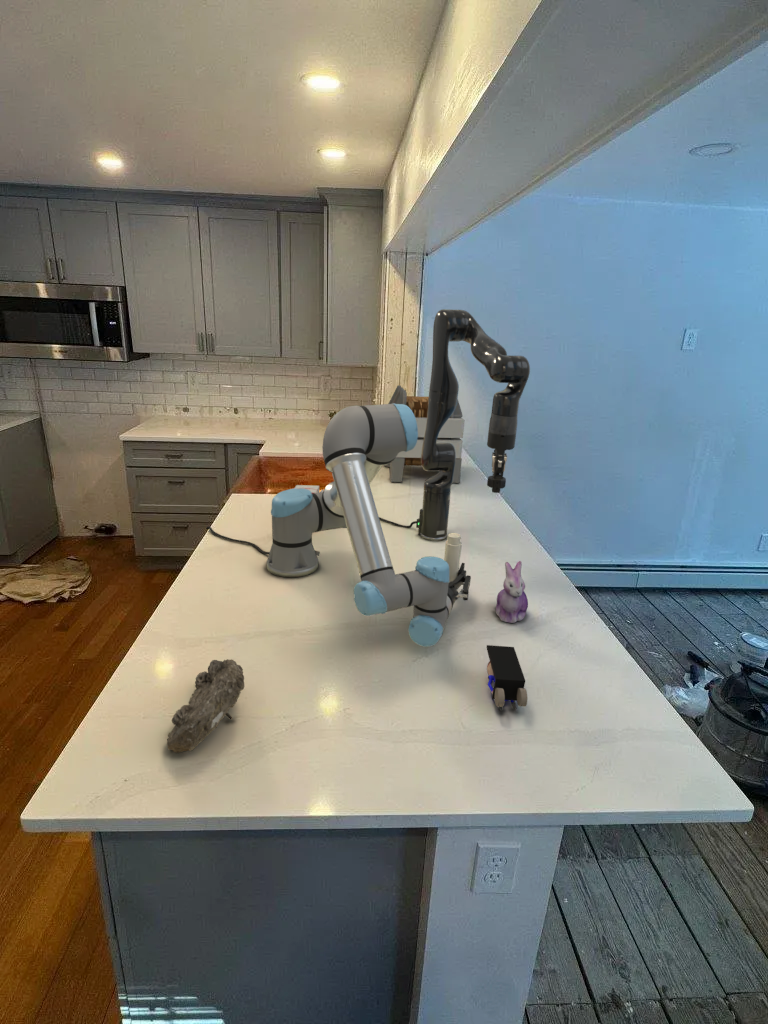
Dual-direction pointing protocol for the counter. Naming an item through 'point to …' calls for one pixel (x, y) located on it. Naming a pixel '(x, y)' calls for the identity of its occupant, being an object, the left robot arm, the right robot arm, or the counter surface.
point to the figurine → (512, 596)
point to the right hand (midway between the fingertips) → (495, 489)
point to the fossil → (206, 705)
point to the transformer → (447, 434)
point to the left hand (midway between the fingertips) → (454, 565)
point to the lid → (490, 482)
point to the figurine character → (506, 677)
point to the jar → (453, 554)
